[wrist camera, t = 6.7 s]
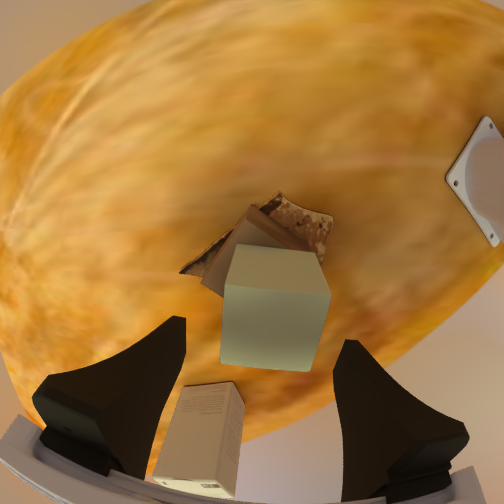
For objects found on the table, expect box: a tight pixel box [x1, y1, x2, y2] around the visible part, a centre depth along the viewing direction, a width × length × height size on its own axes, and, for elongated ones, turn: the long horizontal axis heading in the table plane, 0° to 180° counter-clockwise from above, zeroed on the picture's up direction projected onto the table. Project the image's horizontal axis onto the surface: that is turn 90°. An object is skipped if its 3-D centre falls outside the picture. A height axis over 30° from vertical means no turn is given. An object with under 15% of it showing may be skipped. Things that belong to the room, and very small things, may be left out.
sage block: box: [220, 243, 332, 372], centre depth 15 cm, size 4×4×5 cm
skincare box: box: [152, 382, 245, 498], centre depth 22 cm, size 6×4×12 cm
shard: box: [179, 191, 333, 278], centre depth 21 cm, size 11×8×2 cm
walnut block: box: [201, 205, 311, 298], centre depth 19 cm, size 5×5×4 cm
